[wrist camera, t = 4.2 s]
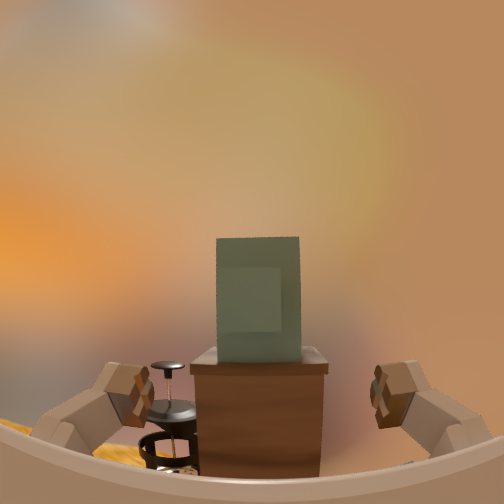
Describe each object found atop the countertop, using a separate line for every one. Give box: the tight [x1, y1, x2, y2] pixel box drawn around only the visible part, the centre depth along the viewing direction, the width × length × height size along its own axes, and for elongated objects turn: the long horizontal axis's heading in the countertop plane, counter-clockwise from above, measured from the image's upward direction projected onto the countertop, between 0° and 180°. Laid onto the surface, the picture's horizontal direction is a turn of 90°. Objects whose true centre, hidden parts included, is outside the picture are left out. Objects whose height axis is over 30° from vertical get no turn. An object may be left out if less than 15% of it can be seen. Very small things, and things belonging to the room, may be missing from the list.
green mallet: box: [216, 237, 301, 363], centre depth 22 cm, size 17×6×9 cm, turn 176°
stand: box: [190, 346, 328, 479], centre depth 24 cm, size 9×10×26 cm
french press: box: [138, 361, 200, 476], centre depth 35 cm, size 12×9×23 cm
